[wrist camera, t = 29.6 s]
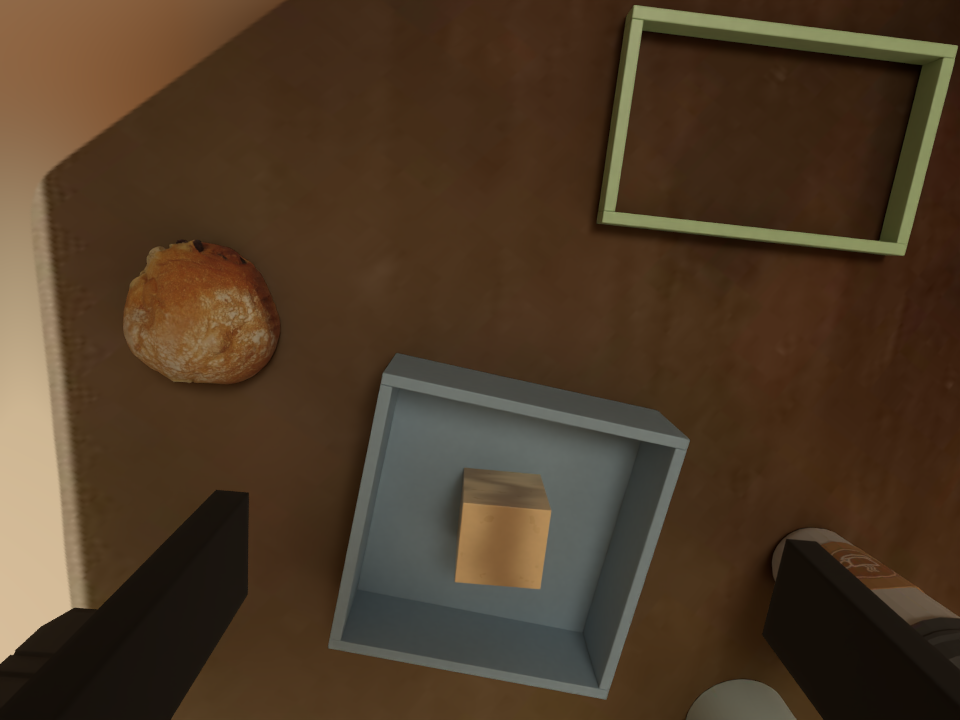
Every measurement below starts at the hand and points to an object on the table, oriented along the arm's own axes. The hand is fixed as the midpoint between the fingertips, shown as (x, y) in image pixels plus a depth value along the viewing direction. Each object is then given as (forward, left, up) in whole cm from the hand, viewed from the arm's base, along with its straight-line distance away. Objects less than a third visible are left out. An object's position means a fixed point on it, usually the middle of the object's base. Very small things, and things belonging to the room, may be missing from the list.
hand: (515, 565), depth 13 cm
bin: (+12, -4, -29) cm, 31 cm away
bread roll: (-10, -18, -29) cm, 35 cm away
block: (+12, -4, -28) cm, 31 cm away
